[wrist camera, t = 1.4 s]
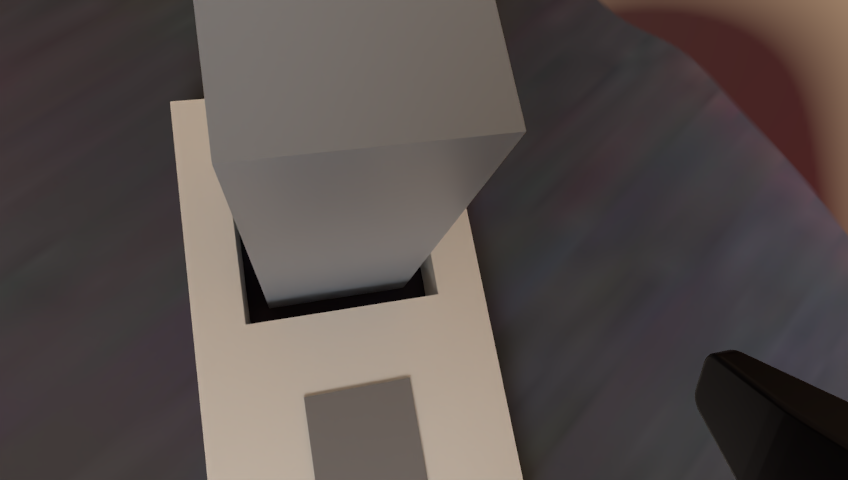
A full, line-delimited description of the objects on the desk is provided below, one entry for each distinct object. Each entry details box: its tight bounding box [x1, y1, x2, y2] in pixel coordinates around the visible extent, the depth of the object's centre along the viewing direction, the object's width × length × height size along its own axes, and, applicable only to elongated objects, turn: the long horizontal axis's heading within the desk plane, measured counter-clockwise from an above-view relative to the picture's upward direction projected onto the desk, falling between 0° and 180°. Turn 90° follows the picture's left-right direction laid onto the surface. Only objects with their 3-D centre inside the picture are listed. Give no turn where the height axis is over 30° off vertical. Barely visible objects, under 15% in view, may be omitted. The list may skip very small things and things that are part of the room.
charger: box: [193, 0, 526, 308], centre depth 16 cm, size 5×5×13 cm
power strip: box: [170, 99, 523, 480], centre depth 19 cm, size 22×9×3 cm, turn 10°
